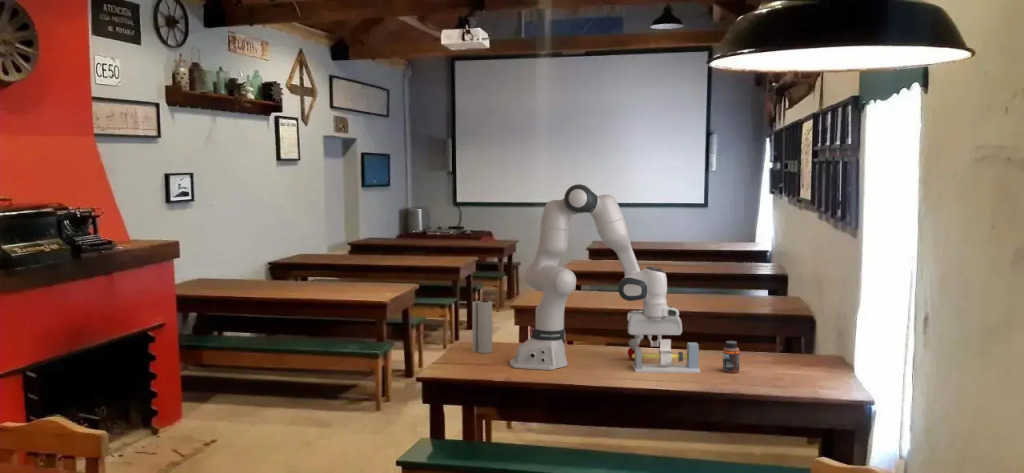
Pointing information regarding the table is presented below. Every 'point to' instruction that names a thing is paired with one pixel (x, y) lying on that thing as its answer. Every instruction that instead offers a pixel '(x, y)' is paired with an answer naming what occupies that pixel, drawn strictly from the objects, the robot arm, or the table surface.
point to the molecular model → (634, 345)
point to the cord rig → (673, 368)
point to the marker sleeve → (665, 352)
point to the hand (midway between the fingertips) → (654, 346)
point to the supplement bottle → (731, 357)
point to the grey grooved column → (482, 326)
